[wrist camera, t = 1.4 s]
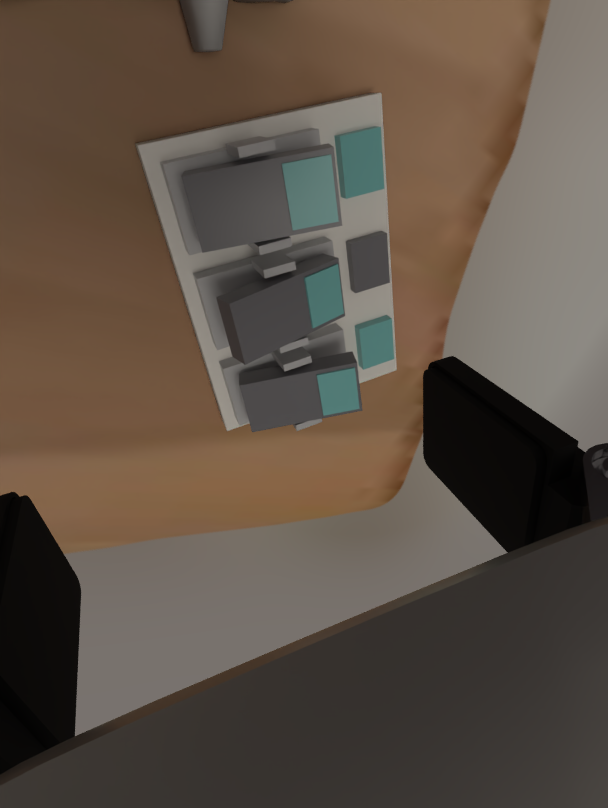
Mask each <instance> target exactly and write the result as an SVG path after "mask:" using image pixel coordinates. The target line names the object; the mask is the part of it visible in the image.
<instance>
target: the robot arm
mask: <svg viewBox="0 0 608 808" xmlns="http://www.w3.org/2000/svg"><path fill="white" fill-rule="evenodd" d="M577 446H578V441H577V440H576V439H574V438H573V437H571V436H570V435H568V434H567V433H565V432H564V431H562V430H561V429H560V428H558V427H557V426H555V425H554V424H552V423H550V422H549V421H548V420H546V419H545V418H543V417H542V416H541V415H539V414H538V413H536V412H535V411H533V410H532V409H530V408H529V407H527V406H526V405H524V404H523V403H522V402H520V401H519V400H517V399H515V398H514V397H513V396H511V395H510V394H508V393H507V392H505V391H504V390H503V389H501V388H499V387H498V386H497V385H495V384H494V383H492V382H491V381H489V380H488V379H487V378H485V377H484V376H482V375H481V374H479V373H478V372H476V371H475V370H473V369H472V368H470V367H469V366H468V365H466V364H465V363H463V362H462V361H460V360H459V359H457V358H456V357H453V356H451V357H447V358H444V359H441V360H437V361H434V362H431V363H430V364H429V367H428V370H425V371H424V375H423V454H424V459H425V462H426V464H427V465H428V467H429V468H430V469H431V470H432V471H433V473H434V474H435V475H436V476H437V477H438V478H439V479H440V480H441V481H442V482H443V483H444V484H445V485H446V487H448V489H449V490H450V491H451V492H452V493H453V494H454V495H455V496H456V497H457V498H458V500H459V501H460V502H462V504H463V505H464V506H465V507H466V508H467V509H468V510H469V511H470V512H471V514H472V515H473V516H474V517H475V518H476V519H477V520H478V521H479V522H480V523H481V524H482V525H483V527H484V528H485V529H486V530H487V531H488V532H489V533H490V534H491V535H492V536H493V537H494V538H495V539H496V541H497V542H498V543H499V544H500V545H501V546H502V547H503V548H504V549H505V550H506V551H507V552H508V553H506V554H504V555H501V556H499V557H497V558H494V559H492V560H489V561H487V562H485V563H482V564H480V565H477V566H475V567H472V568H470V569H468V570H465V571H463V572H460V573H458V574H456V575H453V576H451V577H448V578H446V579H443V580H441V581H439V582H436V583H434V584H431V585H429V586H427V587H424V588H422V589H419V590H417V591H414V592H412V593H410V594H407V595H405V596H403V597H400V598H397V599H395V600H393V601H391V602H388V603H386V604H383V605H381V606H379V607H376V608H374V609H371V610H369V611H367V612H364V613H362V614H359V615H357V616H354V617H352V618H350V619H347V620H345V621H343V622H340V623H338V624H335V625H333V626H331V627H328V628H326V629H324V630H321V631H319V632H316V633H314V634H312V635H309V636H307V637H304V638H302V639H300V640H297V641H295V642H293V643H290V644H288V645H286V646H283V647H281V648H279V649H276V650H274V651H272V652H269V653H267V654H264V655H262V656H260V657H257V658H255V659H253V660H250V661H248V662H245V663H243V664H241V665H238V666H236V667H234V668H231V669H229V670H227V671H224V672H222V673H220V674H217V675H215V676H213V677H210V678H208V679H206V680H203V681H201V682H199V683H196V684H194V685H191V686H189V687H187V688H184V689H182V690H180V691H177V692H175V693H173V694H170V695H168V696H166V697H163V698H161V699H158V700H156V701H154V702H152V703H149V704H147V705H145V706H143V707H141V708H138V709H136V710H134V711H131V712H129V713H127V714H125V715H122V716H120V717H118V718H116V719H113V720H111V721H109V722H106V723H104V724H102V725H100V726H97V727H95V728H93V729H91V730H88V731H86V732H84V733H82V734H79V735H77V736H75V717H76V695H77V672H78V649H79V648H78V647H79V628H80V604H81V588H80V583H79V580H78V578H77V576H76V574H75V572H74V571H73V569H72V567H71V566H70V564H69V562H68V561H67V559H66V557H65V556H64V554H63V552H62V551H61V549H60V547H59V546H58V544H57V542H56V541H55V539H54V537H53V536H52V534H51V532H50V531H49V529H48V527H47V526H46V524H45V522H44V521H43V519H42V518H41V516H40V514H39V513H38V511H37V509H36V508H35V506H34V504H33V503H32V501H31V499H30V498H29V497H28V496H26V495H24V496H21V497H19V496H18V494H16V493H15V492H11V493H7V494H4V495H1V496H0V808H608V443H604V444H599V445H595V446H593V447H591V448H589V449H588V450H587V451H586V452H584V451H582V450H581V449H580V448H578V447H577Z"/></svg>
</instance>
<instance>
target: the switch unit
mask: <svg viewBox="0 0 608 808" xmlns="http://www.w3.org/2000/svg"><path fill="white" fill-rule="evenodd" d="M328 143H329V144H330V145H332V146H333V147H334V154H335V163H336V172H337V181H338V191H339V200H340V209H341V218H342V226H338V227H333V228H328V229H323V230H318V231H313V232H307V233H302V234H297V235H292V236H287V237H282V238H276V239H271V240H266V241H261V242H256V243H251V244H246V245H240V246H235V247H230V248H225V249H220V250H215V251H209V252H204V253H202V249H201V246H200V242H199V239H198V235H197V231H196V228H195V224H194V221H193V217H192V213H191V210H190V206H189V202H188V199H187V195H186V192H185V188H184V184H183V181H182V177H181V176H182V174H183V172H184V171H188V170H193V169H198V168H203V167H208V166H214V165H219V164H224V163H229V162H234V161H239V160H245V159H250V158H255V157H260V156H265V155H271V154H276V153H281V152H286V151H291V150H297V149H302V148H307V147H312V146H317V145H323V144H328ZM135 146H136V149H137V152H138V155H139V158H140V162H141V165H142V168H143V171H144V174H145V177H146V180H147V184H148V187H149V190H150V193H151V196H152V199H153V203H154V206H155V209H156V212H157V215H158V218H159V222H160V225H161V228H162V231H163V234H164V237H165V241H166V244H167V247H168V250H169V253H170V256H171V259H172V263H173V266H174V269H175V272H176V275H177V278H178V282H179V285H180V288H181V291H182V294H183V297H184V301H185V304H186V307H187V310H188V313H189V316H190V319H191V323H192V326H193V329H194V332H195V335H196V338H197V342H198V345H199V348H200V351H201V354H202V357H203V361H204V364H205V367H206V370H207V373H208V376H209V380H210V383H211V386H212V389H213V392H214V395H215V398H216V402H217V405H218V408H219V411H220V414H221V417H222V421H223V423H224V425H225V427H226V430H227V431H229V430H232V429H235V428H237V427H240V426H243V425H246V424H248V423H250V422H249V419H248V415H247V412H246V408H245V404H244V401H243V397H242V394H241V390H240V386H239V373H244V372H249V371H254V370H259V369H265V368H270V367H275V366H281V368H282V369H283V370H284V372H285V371H288V370H291V369H294V368H297V367H300V366H302V365H305V364H308V363H311V362H312V359H316V358H321V357H326V356H331V355H336V354H341V353H346V352H351V351H352V352H353V354H354V356H355V359H356V361H357V366H358V376H359V383H362V382H365V381H368V380H370V379H373V378H376V377H379V376H381V375H384V374H387V373H390V372H393V371H395V370H397V368H396V350H395V332H394V314H393V295H392V277H391V259H390V241H389V223H388V204H387V186H386V168H385V150H384V131H383V113H382V95H381V93H367V94H363V95H358V96H354V97H349V98H344V99H340V100H335V101H330V102H326V103H321V104H316V105H312V106H307V107H303V108H298V109H293V110H289V111H284V112H279V113H275V114H270V115H265V116H261V117H256V118H252V119H247V120H242V121H238V122H233V123H228V124H224V125H219V126H214V127H210V128H205V129H201V130H196V131H191V132H187V133H182V134H177V135H173V136H168V137H163V138H159V139H154V140H150V141H145V142H140V143H136V144H135ZM320 254H326V255H330V256H334V257H337V258H339V267H340V275H341V284H342V292H343V301H344V309H345V316H344V317H342V318H340V319H338V320H336V321H334V322H332V323H330V324H328V325H326V326H324V327H322V328H320V329H318V330H316V331H313V332H311V333H309V334H307V335H305V336H303V337H301V338H299V339H297V340H295V341H293V342H291V343H289V344H287V345H285V346H283V347H281V348H279V349H277V350H275V351H273V352H271V353H269V354H267V355H265V356H263V357H261V358H259V359H256V360H254V361H252V362H250V363H248V364H246V365H244V364H243V363H241V362H240V361H238V360H237V359H235V358H234V357H232V353H231V350H230V346H229V343H228V339H227V335H226V332H225V328H224V324H223V321H222V317H221V314H220V310H219V306H218V303H217V299H216V297H218V296H220V295H223V294H225V293H228V292H230V291H233V290H235V289H237V288H240V287H242V286H245V285H247V284H250V283H252V282H255V281H257V280H259V279H262V278H269V277H272V276H275V275H279V274H282V273H286V272H289V271H293V270H296V264H298V263H301V262H303V261H306V260H308V259H311V258H313V257H315V256H318V255H320ZM320 422H322V419H316V420H311V421H306V422H301V423H296V424H293V426H294V427H295V429H296V430H297V431H298V430H301V429H304V428H306V427H309V426H312V425H315V424H317V423H320Z"/></svg>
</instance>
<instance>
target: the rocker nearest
mask: <svg viewBox="0 0 608 808" xmlns="http://www.w3.org/2000/svg"><path fill="white" fill-rule="evenodd" d="M181 177H182V181H183V184H184V188H185V192H186V195H187V199H188V202H189V206H190V210H191V213H192V217H193V221H194V224H195V228H196V231H197V235H198V239H199V242H200V246H201V249H202V253H204V252H209V251H215V250H220V249H225V248H230V247H235V246H240V245H246V244H251V243H256V242H261V241H266V240H271V239H276V238H282V237H287V236H292V235H297V234H302V233H307V232H313V231H318V230H323V229H328V228H333V227H338V226H342V218H341V209H340V200H339V191H338V181H337V172H336V163H335V154H334V147H333V146H332V145H330V144H329V143H328V144H323V145H317V146H312V147H307V148H302V149H297V150H291V151H286V152H281V153H276V154H271V155H265V156H260V157H255V158H250V159H245V160H239V161H234V162H229V163H224V164H219V165H214V166H208V167H203V168H198V169H193V170H188V171H184V172H183V174H182V176H181Z"/></svg>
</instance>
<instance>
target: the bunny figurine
mask: <svg viewBox="0 0 608 808" xmlns="http://www.w3.org/2000/svg"><path fill="white" fill-rule="evenodd" d="M233 1H236V2H244V3H255V2H271V1H275V2H281V3H286V2H289V1H293V0H233ZM180 4H181V7H182V11H183V14H184V18H185V21H186V25H187V28H188V32H189V35H190V39H191V42H192V46H193V49H194V52H213V51H219V50H222V45H223V37H224V30H225V22H226V14H227V6H228V0H180Z"/></svg>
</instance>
